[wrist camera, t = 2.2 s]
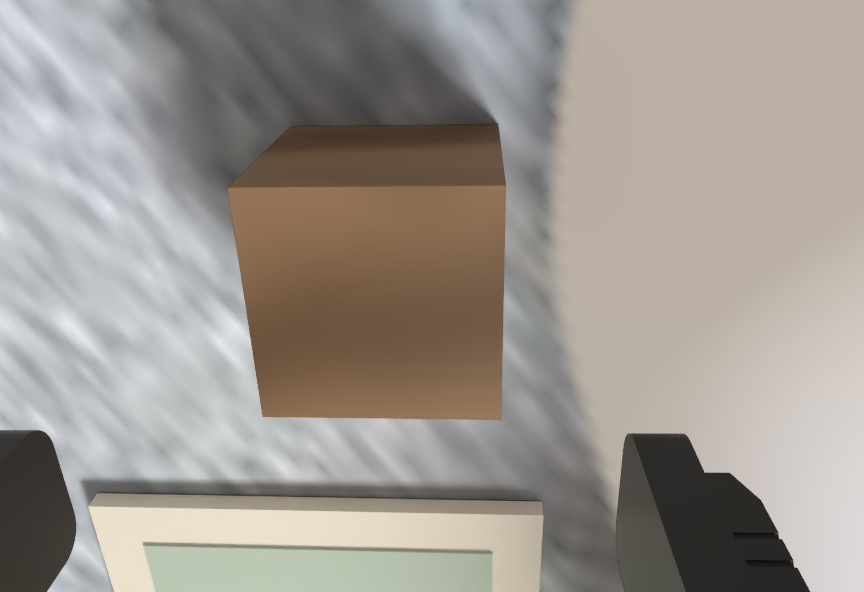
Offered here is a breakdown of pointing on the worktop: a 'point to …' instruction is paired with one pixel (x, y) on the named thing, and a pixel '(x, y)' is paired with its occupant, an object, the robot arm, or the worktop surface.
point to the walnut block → (375, 271)
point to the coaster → (317, 544)
